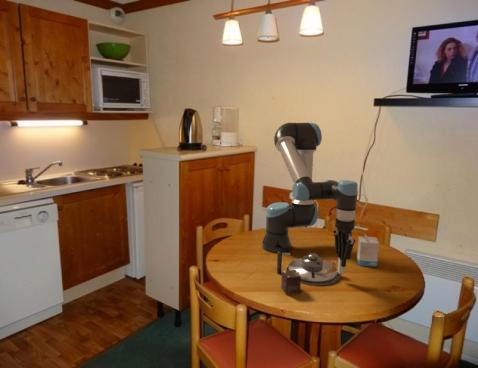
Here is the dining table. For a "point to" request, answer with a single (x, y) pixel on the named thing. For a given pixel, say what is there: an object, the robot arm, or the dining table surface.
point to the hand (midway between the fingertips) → (341, 272)
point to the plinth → (319, 283)
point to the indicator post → (280, 261)
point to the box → (291, 282)
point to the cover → (312, 263)
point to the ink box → (367, 251)
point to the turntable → (315, 277)
